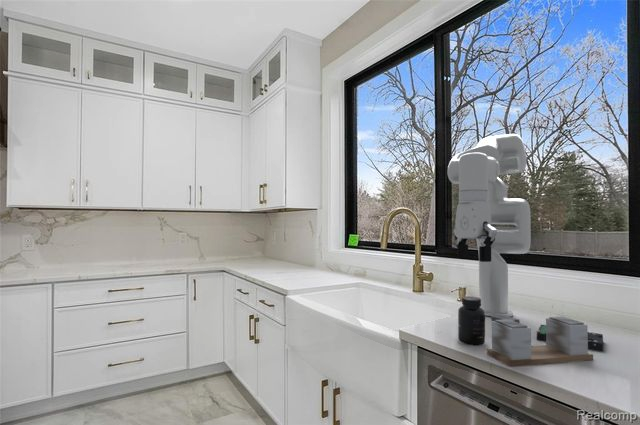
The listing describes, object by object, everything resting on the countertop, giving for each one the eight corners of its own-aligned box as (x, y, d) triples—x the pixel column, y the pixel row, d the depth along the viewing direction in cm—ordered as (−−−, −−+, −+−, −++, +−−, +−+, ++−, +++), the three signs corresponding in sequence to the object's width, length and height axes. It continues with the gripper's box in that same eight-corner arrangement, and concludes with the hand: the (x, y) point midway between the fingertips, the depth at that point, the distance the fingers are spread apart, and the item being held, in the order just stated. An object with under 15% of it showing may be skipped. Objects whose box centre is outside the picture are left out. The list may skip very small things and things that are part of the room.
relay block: (491, 333, 106) (491, 316, 106) (499, 331, 108) (499, 314, 108) (511, 339, 101) (511, 321, 101) (519, 336, 103) (519, 319, 103)
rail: (486, 353, 88) (486, 319, 89) (564, 348, 93) (563, 315, 94) (510, 366, 81) (510, 328, 81) (593, 359, 85) (592, 323, 86)
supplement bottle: (452, 339, 100) (452, 296, 100) (471, 336, 102) (471, 294, 102) (471, 347, 93) (470, 301, 94) (491, 344, 96) (490, 299, 96)
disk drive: (602, 344, 99) (540, 332, 108) (602, 334, 99) (540, 323, 108) (603, 354, 91) (536, 341, 100) (603, 343, 91) (536, 331, 100)
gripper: (443, 199, 106) (443, 257, 106) (482, 195, 90) (482, 263, 89) (466, 200, 108) (466, 257, 107) (507, 196, 91) (508, 263, 90)
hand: (473, 259), depth 98 cm, fingers open, 9 cm apart
